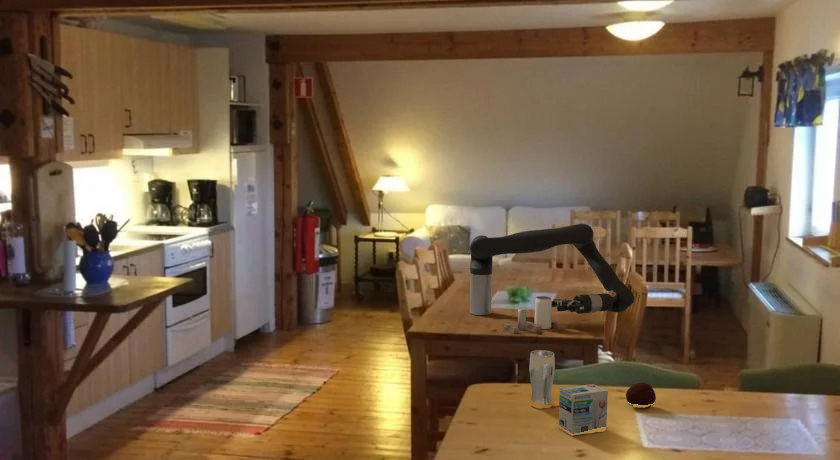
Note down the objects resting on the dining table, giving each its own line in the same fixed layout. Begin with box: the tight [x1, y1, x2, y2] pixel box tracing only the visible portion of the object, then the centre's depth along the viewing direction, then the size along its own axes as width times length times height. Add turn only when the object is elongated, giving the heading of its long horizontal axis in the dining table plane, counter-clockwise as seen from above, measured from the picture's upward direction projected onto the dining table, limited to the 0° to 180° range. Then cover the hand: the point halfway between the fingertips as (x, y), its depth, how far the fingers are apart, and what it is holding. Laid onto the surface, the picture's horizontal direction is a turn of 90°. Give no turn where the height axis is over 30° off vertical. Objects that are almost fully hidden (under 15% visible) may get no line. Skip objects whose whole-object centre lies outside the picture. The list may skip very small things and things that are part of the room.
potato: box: [625, 382, 657, 405], centre depth 233 cm, size 7×8×7 cm
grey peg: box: [517, 308, 527, 331], centre depth 323 cm, size 3×3×8 cm
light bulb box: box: [558, 383, 609, 434], centre depth 214 cm, size 11×7×11 cm, turn 114°
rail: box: [502, 319, 563, 335], centre depth 325 cm, size 9×21×3 cm, turn 112°
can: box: [534, 295, 553, 330], centre depth 327 cm, size 6×6×12 cm
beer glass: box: [528, 349, 556, 404], centre depth 233 cm, size 7×7×15 cm
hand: (551, 306), depth 327 cm, fingers open, 8 cm apart
